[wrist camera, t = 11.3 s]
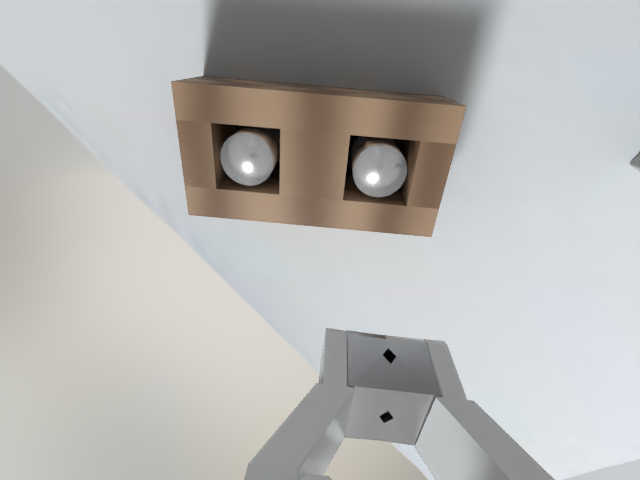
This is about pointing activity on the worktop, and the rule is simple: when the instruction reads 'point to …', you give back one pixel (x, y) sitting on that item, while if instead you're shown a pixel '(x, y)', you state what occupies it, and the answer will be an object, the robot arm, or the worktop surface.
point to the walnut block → (315, 152)
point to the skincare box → (636, 162)
